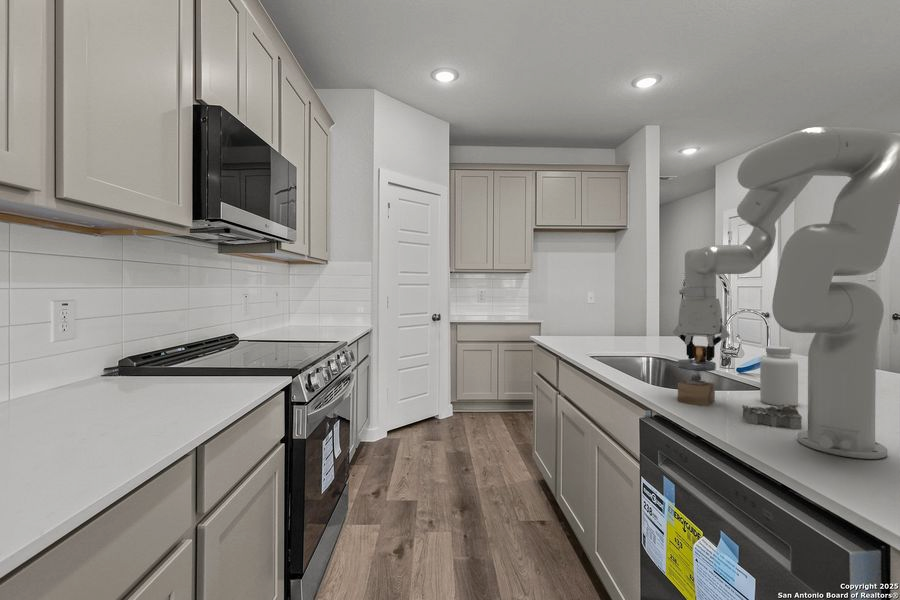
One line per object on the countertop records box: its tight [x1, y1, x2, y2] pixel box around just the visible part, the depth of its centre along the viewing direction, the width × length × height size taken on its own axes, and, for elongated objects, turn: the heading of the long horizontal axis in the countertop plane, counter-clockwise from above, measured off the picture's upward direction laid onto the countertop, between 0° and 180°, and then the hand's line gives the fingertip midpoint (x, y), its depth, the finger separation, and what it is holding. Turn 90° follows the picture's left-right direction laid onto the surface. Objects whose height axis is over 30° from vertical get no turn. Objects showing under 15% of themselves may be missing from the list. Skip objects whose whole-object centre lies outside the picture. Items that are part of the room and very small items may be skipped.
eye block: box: [677, 379, 716, 407], centre depth 115 cm, size 7×7×6 cm
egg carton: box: [741, 404, 803, 430], centre depth 97 cm, size 11×8×4 cm
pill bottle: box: [759, 345, 799, 407], centre depth 112 cm, size 8×8×15 cm
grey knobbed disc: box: [677, 345, 717, 381], centre depth 115 cm, size 10×9×9 cm
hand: (700, 358), depth 117 cm, fingers open, 3 cm apart
